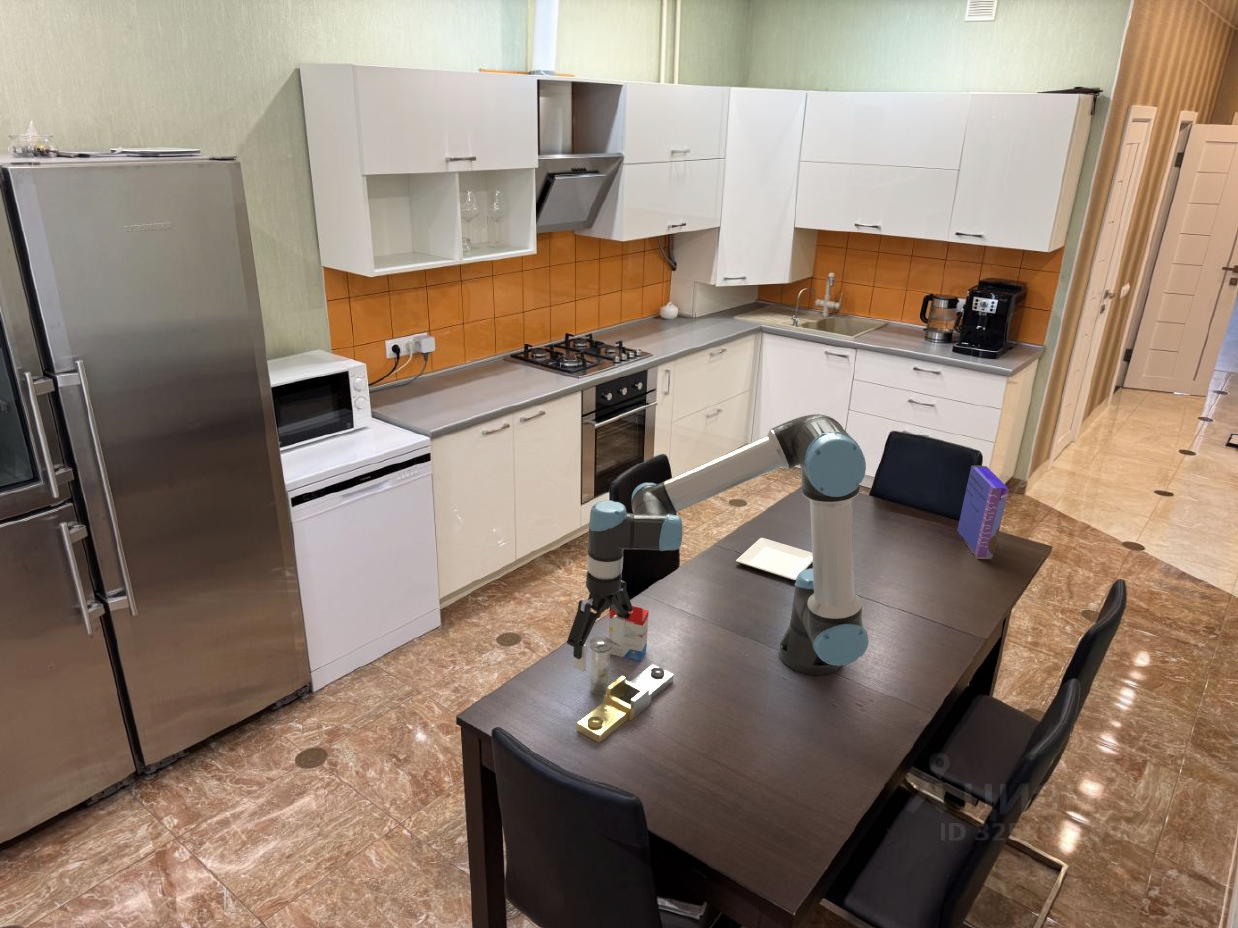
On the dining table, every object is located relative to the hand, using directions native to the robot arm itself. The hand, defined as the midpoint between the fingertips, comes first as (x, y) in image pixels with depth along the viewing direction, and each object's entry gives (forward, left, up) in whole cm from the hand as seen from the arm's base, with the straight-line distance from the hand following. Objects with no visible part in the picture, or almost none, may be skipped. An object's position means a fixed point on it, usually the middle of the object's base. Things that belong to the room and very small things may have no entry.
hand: (599, 655), depth 192 cm
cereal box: (-44, -134, -10) cm, 142 cm away
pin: (0, 0, -10) cm, 10 cm away
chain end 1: (-8, +5, -10) cm, 14 cm away
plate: (-2, -82, -10) cm, 83 cm away
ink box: (+4, -16, -10) cm, 19 cm away
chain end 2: (-8, -6, -10) cm, 14 cm away
